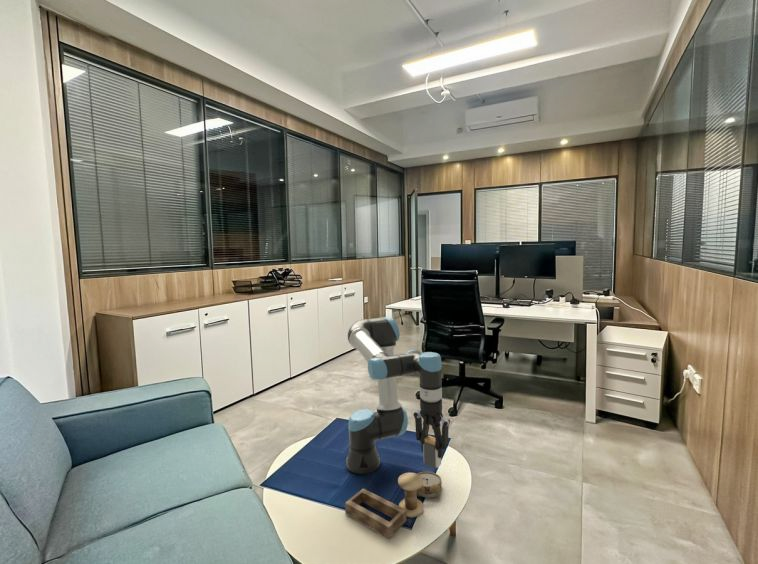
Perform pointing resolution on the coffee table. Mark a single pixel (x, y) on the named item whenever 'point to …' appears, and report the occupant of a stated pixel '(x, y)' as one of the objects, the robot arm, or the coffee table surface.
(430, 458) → the grey upright block
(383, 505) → the open rectangular wooden frame
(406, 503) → the bobbin
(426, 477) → the alarm clock
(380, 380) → the robot arm
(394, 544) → the coffee table surface
